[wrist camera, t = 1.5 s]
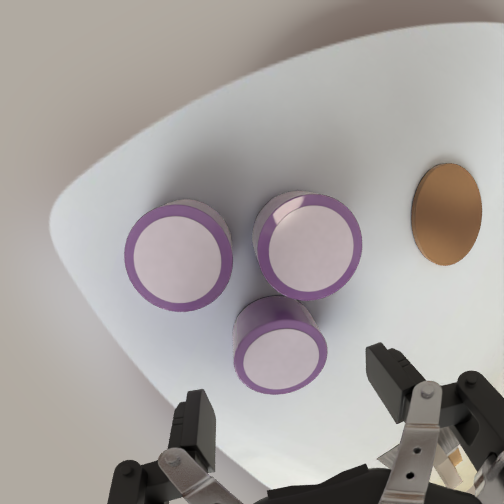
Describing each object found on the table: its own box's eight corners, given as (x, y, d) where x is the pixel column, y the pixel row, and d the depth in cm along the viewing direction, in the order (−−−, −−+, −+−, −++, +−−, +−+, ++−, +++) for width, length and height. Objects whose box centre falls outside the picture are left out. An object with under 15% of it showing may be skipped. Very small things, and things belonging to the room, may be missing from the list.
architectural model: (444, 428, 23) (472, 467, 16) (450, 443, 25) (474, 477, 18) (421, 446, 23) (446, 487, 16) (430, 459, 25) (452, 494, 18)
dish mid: (242, 202, 15) (245, 208, 12) (331, 182, 15) (354, 184, 12) (263, 288, 16) (270, 313, 13) (345, 267, 16) (367, 285, 13)
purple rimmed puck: (131, 213, 15) (110, 222, 12) (219, 188, 15) (216, 191, 12) (158, 296, 16) (144, 321, 13) (241, 277, 16) (244, 299, 13)
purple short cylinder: (222, 307, 16) (221, 333, 13) (307, 285, 16) (322, 308, 14) (243, 372, 18) (246, 403, 15) (317, 353, 18) (331, 381, 15)
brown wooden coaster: (404, 169, 15) (408, 169, 15) (473, 159, 15) (477, 159, 15) (414, 275, 17) (418, 277, 17) (478, 250, 17) (482, 252, 17)
